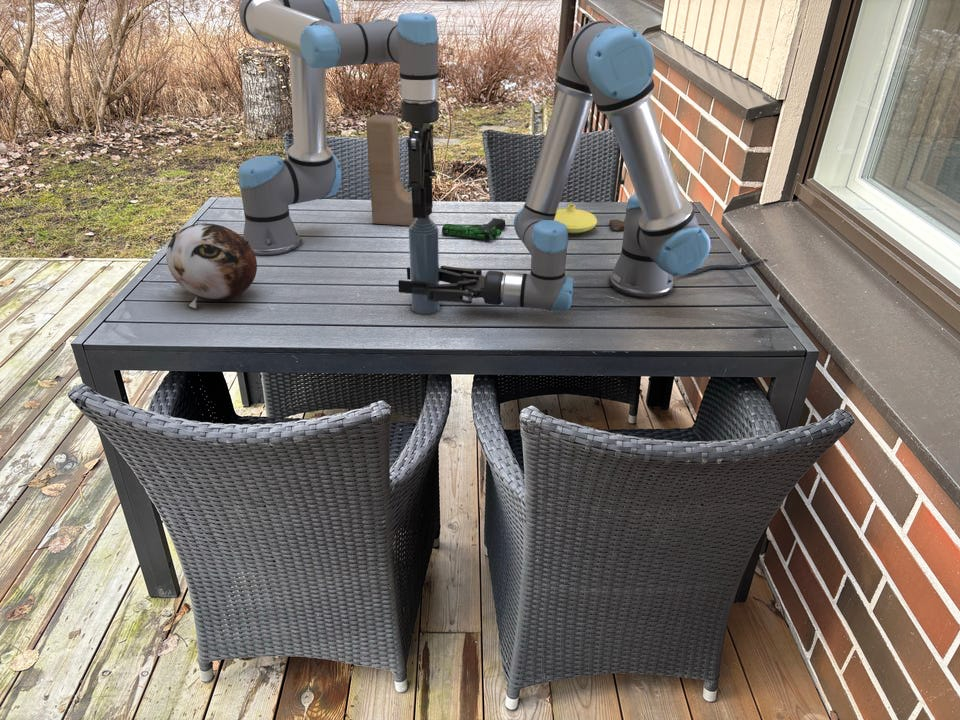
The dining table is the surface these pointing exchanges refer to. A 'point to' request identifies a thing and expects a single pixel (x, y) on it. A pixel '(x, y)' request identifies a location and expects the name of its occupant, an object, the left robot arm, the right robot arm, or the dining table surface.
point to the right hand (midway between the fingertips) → (403, 279)
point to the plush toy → (211, 261)
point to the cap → (428, 208)
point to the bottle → (424, 261)
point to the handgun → (476, 230)
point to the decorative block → (386, 173)
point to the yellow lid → (576, 219)
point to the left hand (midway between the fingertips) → (422, 211)
